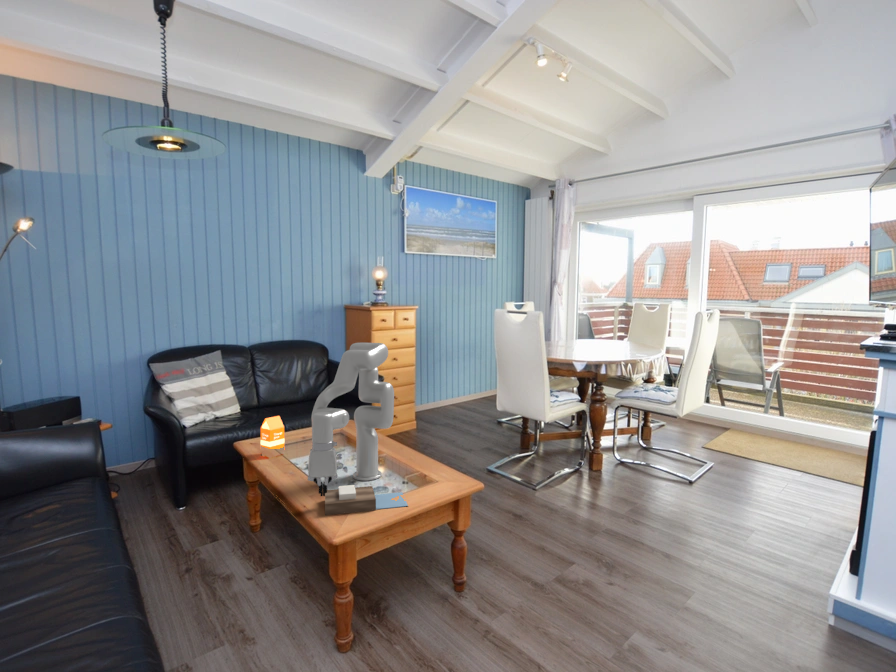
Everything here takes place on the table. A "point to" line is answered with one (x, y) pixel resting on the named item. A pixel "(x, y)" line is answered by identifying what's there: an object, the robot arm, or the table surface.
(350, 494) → the off-white flat slab
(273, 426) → the orange juice
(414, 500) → the table surface
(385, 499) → the mat
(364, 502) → the brown wooden block
